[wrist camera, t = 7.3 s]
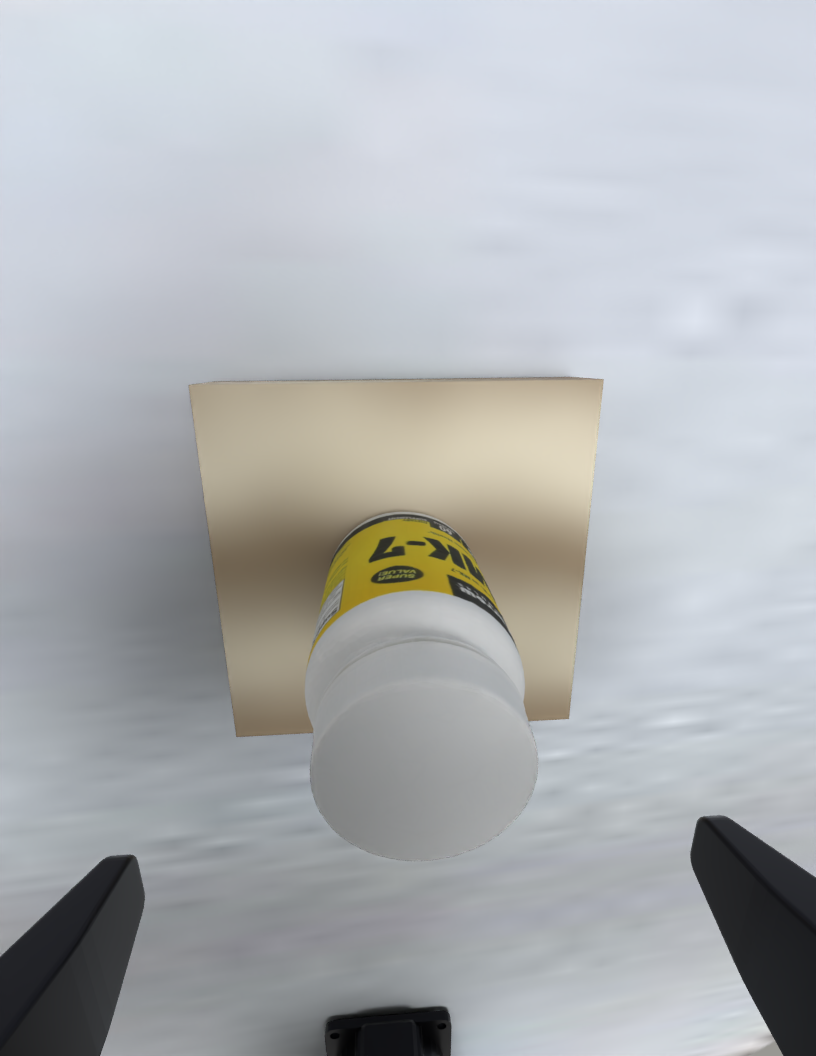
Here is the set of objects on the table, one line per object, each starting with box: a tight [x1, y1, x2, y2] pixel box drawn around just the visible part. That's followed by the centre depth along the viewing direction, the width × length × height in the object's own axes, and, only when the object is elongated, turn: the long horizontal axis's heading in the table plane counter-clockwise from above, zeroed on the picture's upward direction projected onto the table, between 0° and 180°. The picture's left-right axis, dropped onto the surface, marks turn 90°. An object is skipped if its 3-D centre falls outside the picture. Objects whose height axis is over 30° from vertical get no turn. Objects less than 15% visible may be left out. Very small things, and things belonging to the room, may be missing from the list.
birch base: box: [189, 377, 604, 737], centre depth 18 cm, size 12×12×2 cm
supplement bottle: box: [305, 512, 538, 861], centre depth 13 cm, size 5×5×8 cm
